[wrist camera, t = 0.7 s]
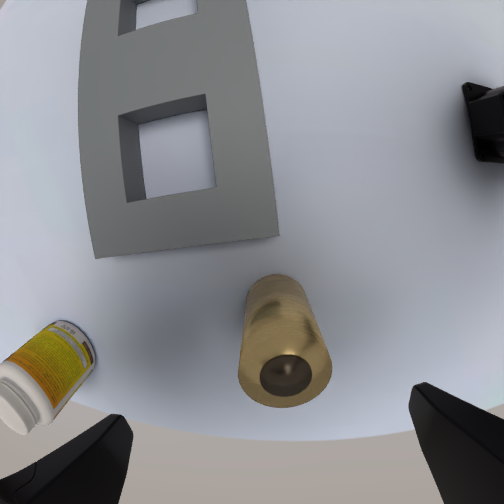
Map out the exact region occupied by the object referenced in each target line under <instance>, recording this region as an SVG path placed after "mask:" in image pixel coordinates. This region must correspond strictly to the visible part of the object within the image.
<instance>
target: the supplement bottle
mask: <svg viewBox="0 0 504 504" xmlns="http://www.w3.org/2000/svg"><path fill="white" fill-rule="evenodd" d="M94 365H95V355H94V351H93V348H92V346H91V344H90V342H89V341H88V339H87V338H86V336H85V335H84V334H83V333H82V332H81V331H80V330H79V329H78V328H76V327H75V326H74V325H72V324H70V323H67V322H64V321H56V322H53V323H51V324H50V325H48V326H47V327H46V328H44V329H43V330H42V331H40V332H39V333H38V334H37V335H35V336H34V337H33V338H32V339H30V340H29V341H28V342H27V343H25V344H24V345H23V346H22V347H20V348H19V349H18V350H17V351H15V352H14V353H13V354H12V355H10V356H9V357H8V358H7V359H6V360H4V361H3V362H2V363H1V364H0V418H1V420H2V421H3V422H4V423H5V424H6V425H8V426H9V427H10V428H11V429H12V430H13V431H15V432H17V433H18V434H20V435H27V434H28V433H29V432H30V431H31V430H32V428H33V427H35V425H36V424H38V425H44V426H45V425H49V424H50V423H51V422H52V421H53V420H54V419H55V418H56V416H57V415H58V414H59V412H60V411H61V410H62V409H63V407H64V406H65V405H66V403H67V402H68V401H69V400H70V398H71V397H72V396H73V395H74V393H75V392H76V391H77V390H78V388H79V387H80V386H81V385H82V383H83V382H84V381H85V379H86V378H87V377H88V376H89V375H90V373H91V372H92V370H93V368H94Z"/></svg>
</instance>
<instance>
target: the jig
mask: <svg viewBox="0 0 504 504" xmlns="http://www.w3.org/2000/svg"><path fill="white" fill-rule="evenodd" d="M145 1H148V0H87V5H86V11H85V17H84V24H83V32H82V40H81V50H80V63H79V81H78V130H79V149H80V162H81V173H82V182H83V191H84V198H85V205H86V212H87V218H88V224H89V230H90V235H91V241H92V246H93V251H94V255H95V259H99V258H106V257H114V256H121V255H129V254H136V253H144V252H152V251H159V250H167V249H175V248H183V247H191V246H199V245H207V244H215V243H224V242H232V241H240V240H249V239H257V238H266V237H275V236H279V227H278V218H277V209H276V200H275V192H274V184H273V176H272V168H271V160H270V152H269V144H268V137H267V130H266V122H265V115H264V108H263V101H262V95H261V88H260V81H259V75H258V68H257V62H256V56H255V49H254V43H253V37H252V31H251V26H250V20H249V14H248V9H247V3H246V0H197V8H198V14H193V15H188V16H184V17H180V18H176V19H172V20H168V21H164V22H160V23H157V24H154V25H150V26H147V27H144V28H141V29H137V30H135V29H136V6H137V4H139V3H142V2H145ZM204 109H207V112H208V120H209V129H210V138H211V146H212V154H213V162H214V170H215V178H216V185H217V188H210V189H203V190H197V191H190V192H184V193H178V194H173V195H167V196H161V197H156V198H150V199H146V195H145V187H144V179H143V171H142V163H141V153H140V143H139V131H138V124H141V123H145V122H149V121H153V120H157V119H161V118H165V117H170V116H174V115H179V114H183V113H188V112H193V111H198V110H204Z"/></svg>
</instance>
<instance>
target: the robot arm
mask: <svg viewBox="0 0 504 504" xmlns="http://www.w3.org/2000/svg"><path fill="white" fill-rule="evenodd" d="M468 88H469V89H468ZM463 90H464V94H465V98H466V102H467V107H468V112H469V117H470V122H471V128H472V134H473V141H474V148H475V156H476V159H477V160H478V161H480V162H493V163H504V86H502V87H499V88H496V89H491V88H488V87H484V86H481V85H477V84H473V83H470V82H466V83H464V84H463ZM480 153H481V156H480ZM409 412H410V415H411V418H412V421H413V424H414V427H415V431H416V434H417V437H418V440H419V444H420V446H421V449H422V452H423V454H424V456H425V459H426V461H427V463H428V465H429V468H430V470H431V473H432V475H433V477H434V480H435V482H436V485H437V487H438V489H439V492H440V495H441V497H442V499H443V502H444V504H504V419H502V418H499V417H497V416H495V415H493V414H491V413H489V412H486V411H485V410H482V409H480V408H478V407H476V406H474V405H472V404H470V403H468V402H465V401H463V400H461V399H459V398H457V397H455V396H453V395H451V394H449V393H447V392H445V391H443V390H441V389H439V388H437V387H435V386H433V385H431V384H429V383H427V382H423V383H420V384H417V385H414V386H413V388H412V391H411V396H410V400H409ZM132 442H133V432H132V430H131V428H130V426H129V425H128V423H127V421H126V419H125V417H124V416H122V415H119V414H110V415H109V416H107V417H106V418H104V419H103V420H101V421H100V422H98V423H97V424H95V425H94V426H92V427H91V428H89V429H88V430H86V431H84V432H83V433H82V434H80V435H78V436H77V437H75V438H74V439H72V440H70V441H69V442H67V443H66V444H64V445H62V446H61V447H59V448H58V449H56V450H55V451H53V452H51V453H50V454H48V455H46V456H45V457H43V458H42V459H40V460H38V461H37V462H35V463H33V464H31V465H29V466H28V467H26V468H24V469H22V470H20V471H18V472H16V473H14V474H12V475H10V476H7V477H5V478H3V479H0V504H118V503H119V499H120V496H121V492H122V488H123V485H124V482H125V478H126V474H127V470H128V463H129V458H130V453H131V447H132Z"/></svg>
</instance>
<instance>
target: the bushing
mask: <svg viewBox="0 0 504 504" xmlns="http://www.w3.org/2000/svg"><path fill="white" fill-rule="evenodd" d="M331 374H332V362H331V359H330V356H329V353H328V351H327V348H326V345H325V343H324V340H323V338H322V335H321V332H320V330H319V327H318V325H317V322H316V320H315V317H314V314H313V312H312V309H311V307H310V304H309V302H308V299H307V297H306V294H305V292H304V290H303V288H302V286H301V285H300V284H299V283H298V282H297V281H296V280H295V279H293V278H291V277H289V276H286V275H281V274H273V275H268V276H265V277H263V278H261V279H260V280H258V281H257V282H256V283H255V284H254V285H253V286H252V287H251V289H250V290H249V293H248V295H247V301H246V310H245V318H244V327H243V335H242V344H241V353H240V361H239V370H238V378H239V382H240V385H241V387H242V389H243V390H244V392H245V393H246V394H247V395H248V396H249V397H250V398H251V399H253V400H254V401H256V402H258V403H260V404H263V405H265V406H269V407H276V408H288V407H294V406H298V405H301V404H304V403H306V402H308V401H310V400H312V399H314V398H315V397H316V396H318V395H319V394H320V393H321V392H322V391H323V390H324V389H325V387H326V386H327V384H328V383H329V380H330V378H331Z"/></svg>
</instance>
